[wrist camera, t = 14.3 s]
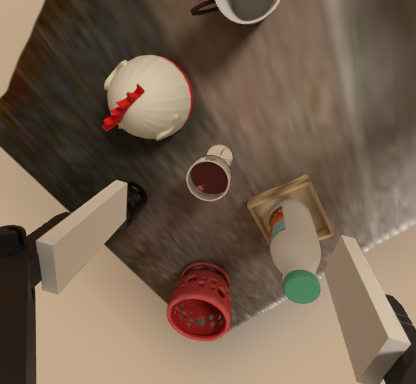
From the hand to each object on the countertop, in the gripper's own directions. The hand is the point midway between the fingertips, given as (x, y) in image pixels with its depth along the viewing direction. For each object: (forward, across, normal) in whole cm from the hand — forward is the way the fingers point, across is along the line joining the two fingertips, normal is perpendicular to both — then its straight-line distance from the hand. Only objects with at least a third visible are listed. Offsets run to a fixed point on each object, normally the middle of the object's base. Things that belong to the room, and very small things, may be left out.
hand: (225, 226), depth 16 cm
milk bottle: (+34, +11, -15) cm, 39 cm away
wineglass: (+35, -4, -7) cm, 36 cm away
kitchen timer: (+35, -18, +1) cm, 39 cm away
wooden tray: (+35, +11, -15) cm, 40 cm away
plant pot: (+35, -1, -38) cm, 51 cm away
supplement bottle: (+35, -21, -20) cm, 45 cm away
